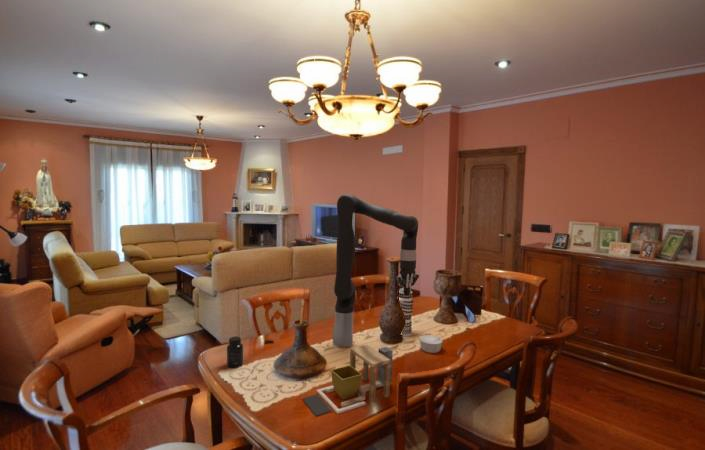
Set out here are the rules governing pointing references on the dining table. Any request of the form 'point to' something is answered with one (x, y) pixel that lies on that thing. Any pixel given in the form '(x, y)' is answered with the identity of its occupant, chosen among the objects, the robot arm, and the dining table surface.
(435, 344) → the ramekin
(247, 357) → the dining table surface
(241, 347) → the supplement bottle
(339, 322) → the robot arm
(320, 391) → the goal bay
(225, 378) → the dining table surface
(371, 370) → the oak bridge
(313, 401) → the mat
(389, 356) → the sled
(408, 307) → the striped vase
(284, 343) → the dining table surface
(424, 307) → the dining table surface
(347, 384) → the flower pot
